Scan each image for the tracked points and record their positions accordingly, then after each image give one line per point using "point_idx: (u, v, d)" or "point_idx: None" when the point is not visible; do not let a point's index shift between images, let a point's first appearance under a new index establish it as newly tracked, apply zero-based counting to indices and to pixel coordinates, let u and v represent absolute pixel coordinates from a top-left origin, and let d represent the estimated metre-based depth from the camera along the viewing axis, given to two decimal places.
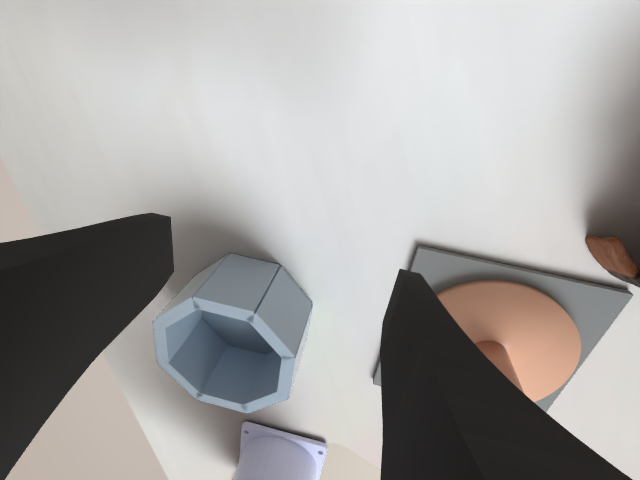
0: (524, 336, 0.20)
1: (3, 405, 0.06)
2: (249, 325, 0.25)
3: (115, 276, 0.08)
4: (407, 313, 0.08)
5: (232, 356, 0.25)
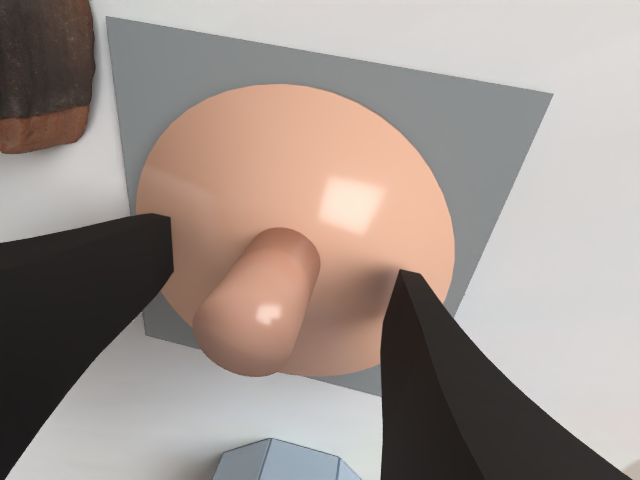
0: (223, 205, 0.10)
1: (3, 405, 0.06)
2: None
3: (115, 276, 0.08)
4: (407, 313, 0.08)
5: None
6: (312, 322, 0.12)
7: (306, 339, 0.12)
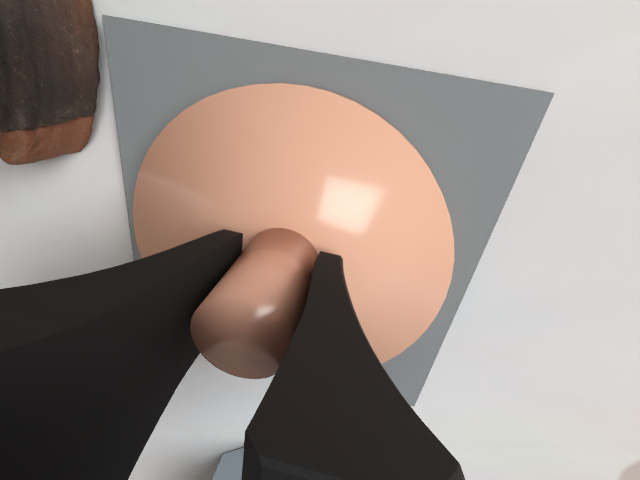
0: (220, 206, 0.10)
1: (116, 438, 0.06)
2: None
3: (201, 297, 0.08)
4: None
5: None
6: None
7: None
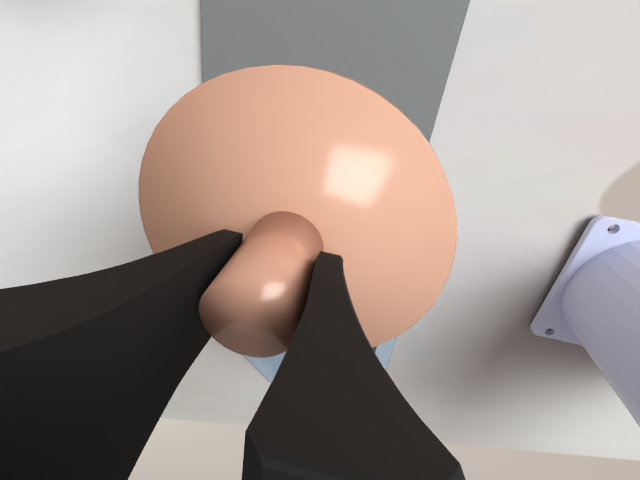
0: (224, 192, 0.10)
1: (116, 438, 0.06)
2: None
3: None
4: None
5: None
6: None
7: None
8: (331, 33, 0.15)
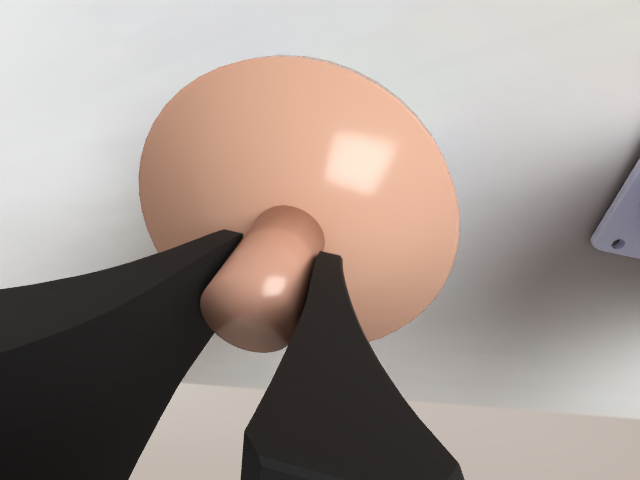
0: (224, 186, 0.10)
1: (116, 438, 0.06)
2: None
3: None
4: None
5: None
6: None
7: None
8: None
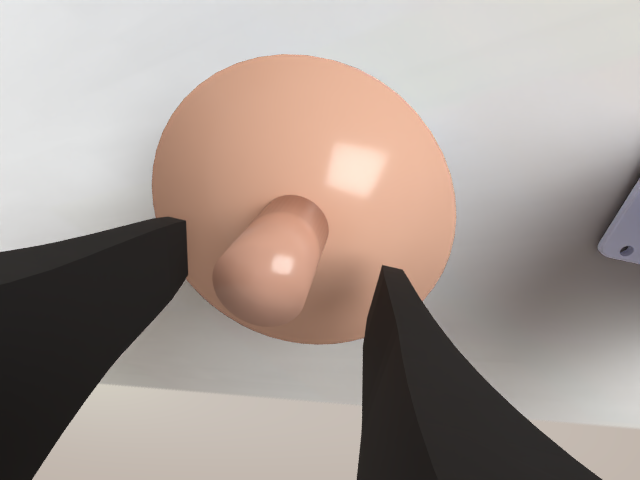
0: (234, 177, 0.11)
1: (27, 412, 0.06)
2: None
3: (134, 281, 0.08)
4: (385, 308, 0.08)
5: None
6: (323, 288, 0.12)
7: (317, 306, 0.13)
8: None
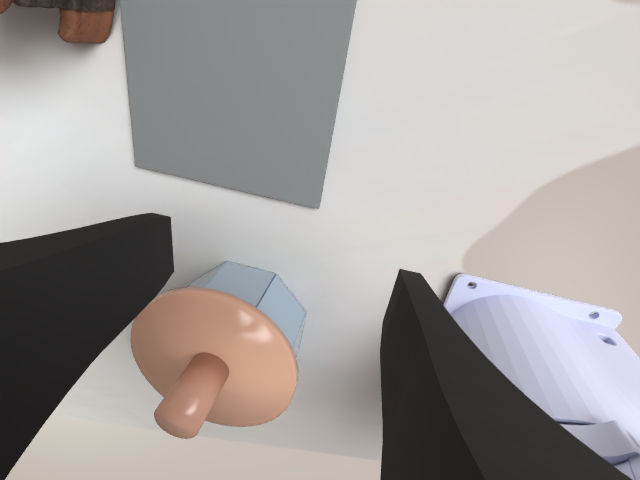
0: (175, 341, 0.20)
1: (3, 405, 0.06)
2: None
3: (115, 276, 0.08)
4: (407, 313, 0.08)
5: None
6: (230, 398, 0.21)
7: (228, 406, 0.21)
8: (232, 119, 0.19)
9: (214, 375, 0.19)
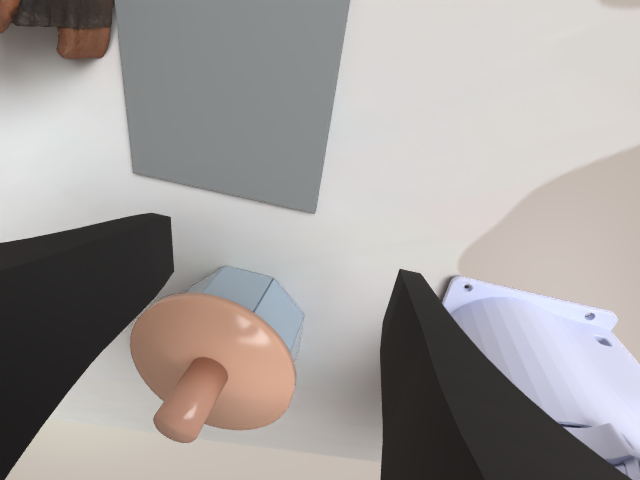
0: (174, 346, 0.20)
1: (3, 405, 0.06)
2: None
3: (115, 276, 0.08)
4: (407, 313, 0.08)
5: None
6: (229, 401, 0.21)
7: (228, 410, 0.21)
8: (228, 126, 0.19)
9: (213, 379, 0.19)
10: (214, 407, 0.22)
